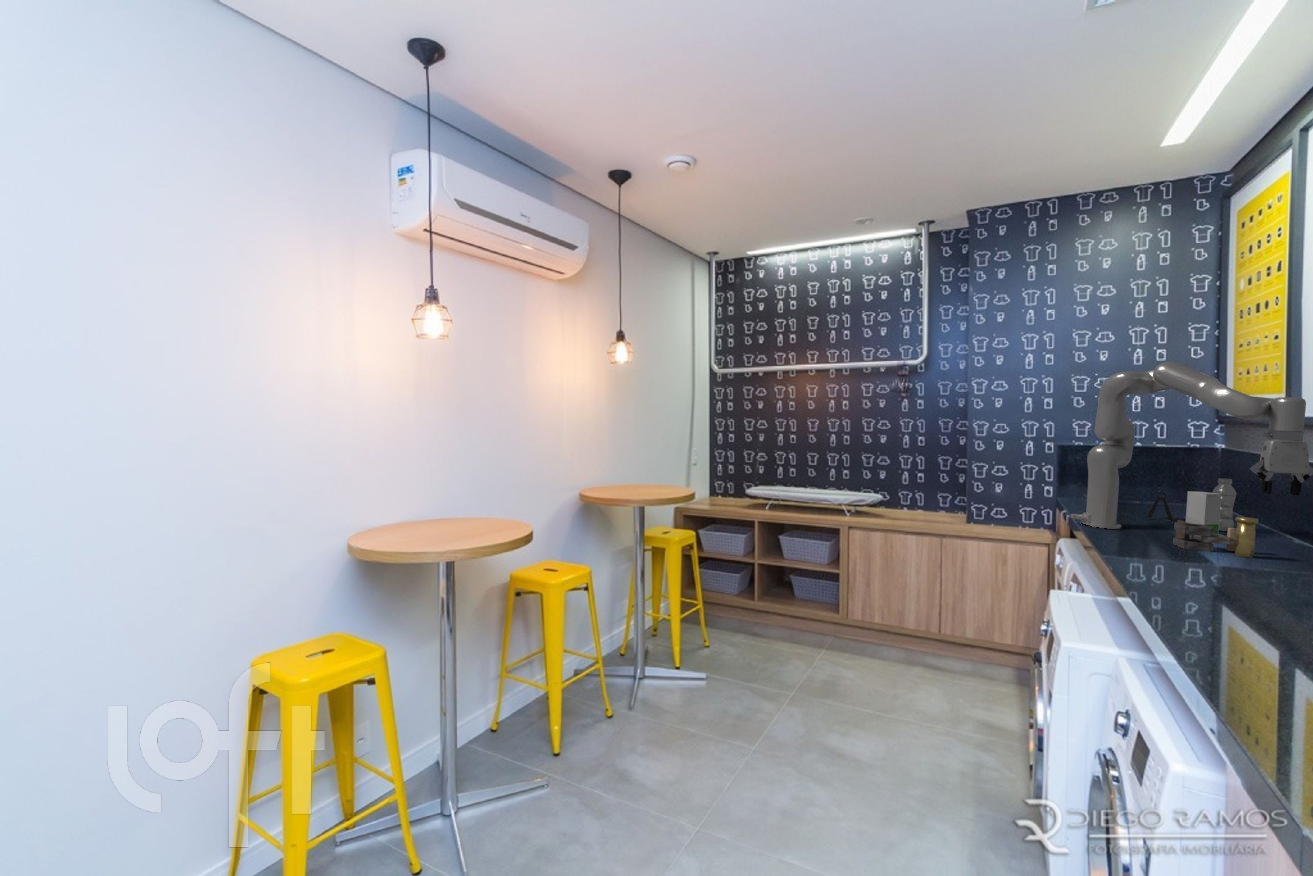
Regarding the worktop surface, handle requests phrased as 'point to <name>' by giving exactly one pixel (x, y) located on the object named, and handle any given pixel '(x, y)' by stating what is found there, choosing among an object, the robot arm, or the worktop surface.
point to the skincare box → (1204, 509)
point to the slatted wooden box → (1193, 529)
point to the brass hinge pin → (1245, 536)
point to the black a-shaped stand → (1167, 508)
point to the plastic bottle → (1226, 503)
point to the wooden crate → (1222, 539)
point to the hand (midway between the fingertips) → (1280, 493)
